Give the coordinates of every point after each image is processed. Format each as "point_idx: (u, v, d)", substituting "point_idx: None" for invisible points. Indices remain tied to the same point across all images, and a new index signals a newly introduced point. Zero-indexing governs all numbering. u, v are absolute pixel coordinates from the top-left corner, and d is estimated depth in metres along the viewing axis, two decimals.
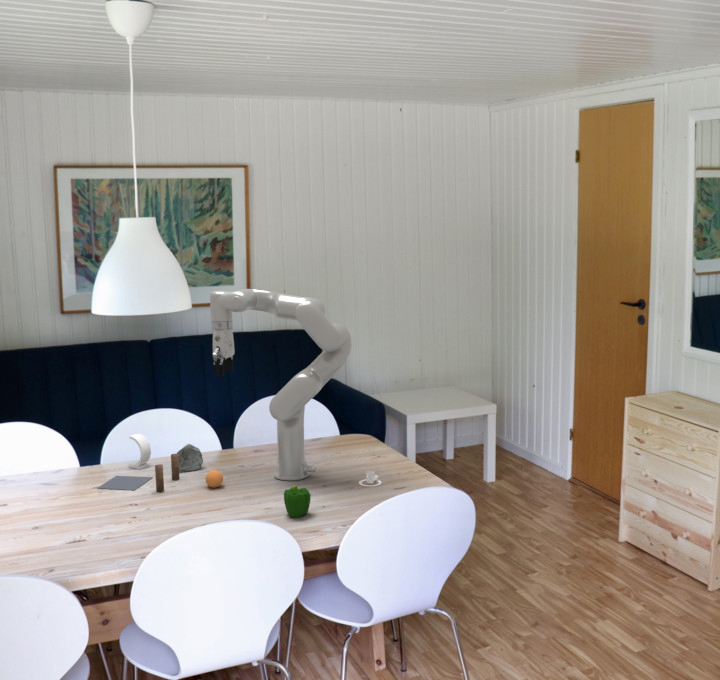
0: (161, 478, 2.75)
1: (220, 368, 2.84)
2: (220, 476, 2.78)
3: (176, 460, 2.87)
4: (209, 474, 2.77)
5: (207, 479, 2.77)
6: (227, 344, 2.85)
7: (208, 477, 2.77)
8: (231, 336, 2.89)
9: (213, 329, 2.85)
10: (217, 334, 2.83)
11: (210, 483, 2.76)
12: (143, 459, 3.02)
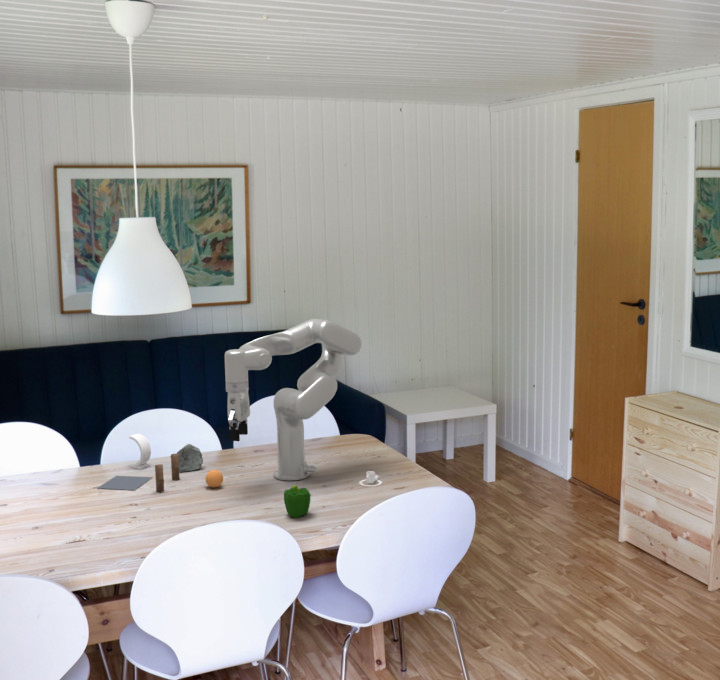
0: (161, 478, 2.75)
1: (236, 433, 2.70)
2: (220, 476, 2.78)
3: (176, 460, 2.87)
4: (209, 474, 2.77)
5: (207, 479, 2.77)
6: (242, 406, 2.70)
7: (208, 477, 2.77)
8: (247, 397, 2.74)
9: (228, 390, 2.70)
10: (232, 396, 2.69)
11: (210, 483, 2.76)
12: (143, 459, 3.02)
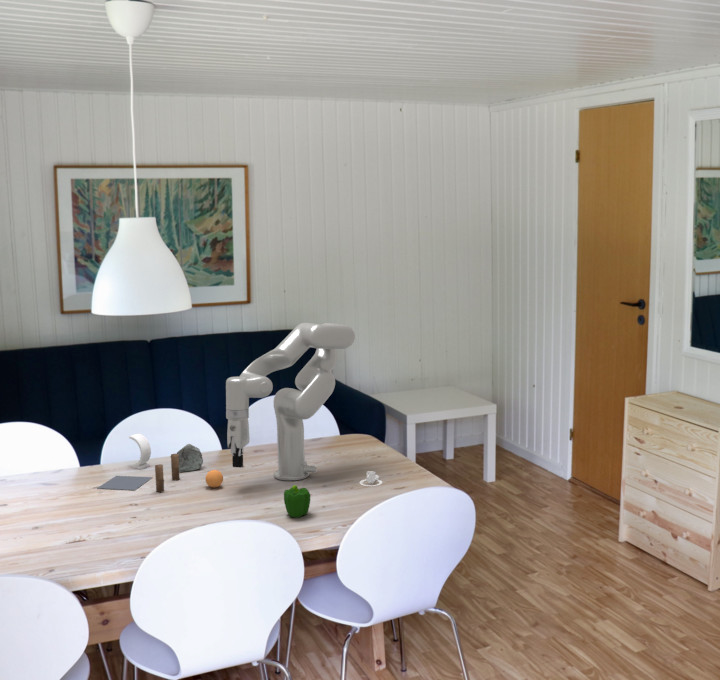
0: (161, 478, 2.75)
1: (239, 459, 2.74)
2: (220, 476, 2.78)
3: (176, 460, 2.87)
4: (209, 474, 2.77)
5: (207, 479, 2.77)
6: (242, 434, 2.71)
7: (208, 477, 2.77)
8: (247, 424, 2.75)
9: (228, 418, 2.71)
10: (232, 423, 2.70)
11: (210, 483, 2.76)
12: (143, 459, 3.02)
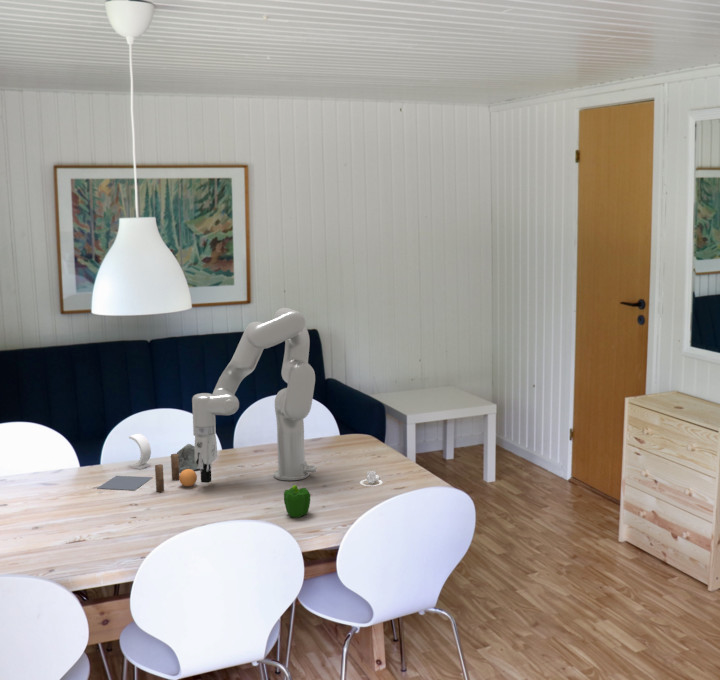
0: (161, 478, 2.75)
1: (207, 475, 2.78)
2: (179, 479, 2.80)
3: (176, 460, 2.87)
4: (187, 485, 2.79)
5: (189, 482, 2.78)
6: (209, 450, 2.75)
7: (188, 484, 2.78)
8: (214, 440, 2.79)
9: (195, 434, 2.74)
10: (199, 440, 2.73)
11: (186, 478, 2.78)
12: (143, 459, 3.02)
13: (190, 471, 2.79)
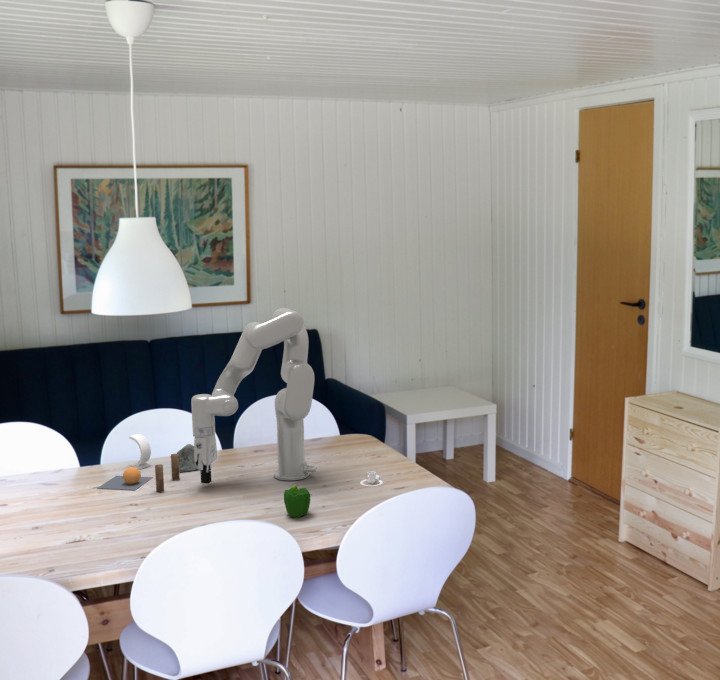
0: (161, 478, 2.75)
1: (207, 476, 2.78)
2: None
3: (176, 460, 2.87)
4: (134, 481, 2.82)
5: (133, 477, 2.81)
6: (209, 451, 2.75)
7: (132, 479, 2.82)
8: (213, 441, 2.79)
9: (194, 435, 2.75)
10: (198, 441, 2.73)
11: (128, 475, 2.81)
12: (143, 459, 3.02)
13: (129, 468, 2.83)
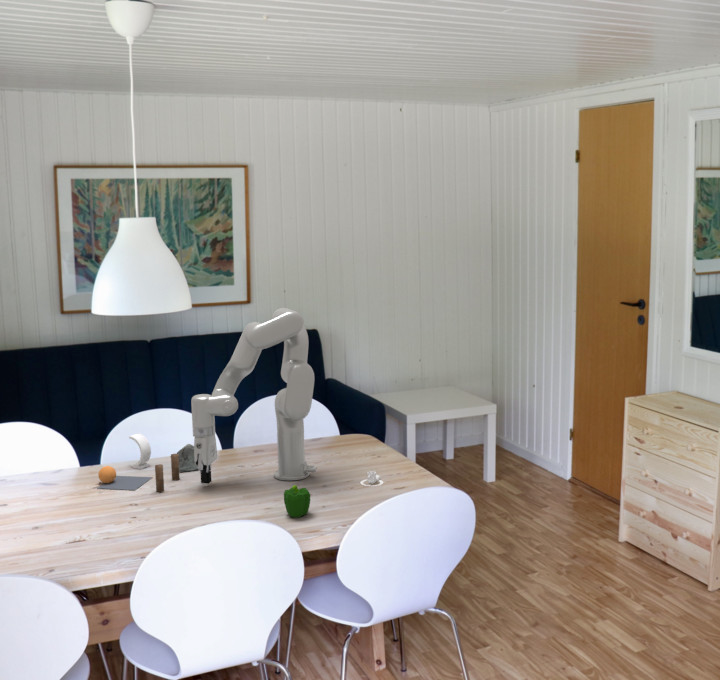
0: (161, 478, 2.75)
1: (207, 476, 2.78)
2: (111, 470, 2.84)
3: (176, 460, 2.87)
4: (100, 471, 2.84)
5: (99, 476, 2.83)
6: (209, 451, 2.75)
7: (100, 474, 2.83)
8: (213, 441, 2.79)
9: (194, 435, 2.75)
10: (198, 441, 2.73)
11: (103, 479, 2.83)
12: (143, 459, 3.02)
13: None
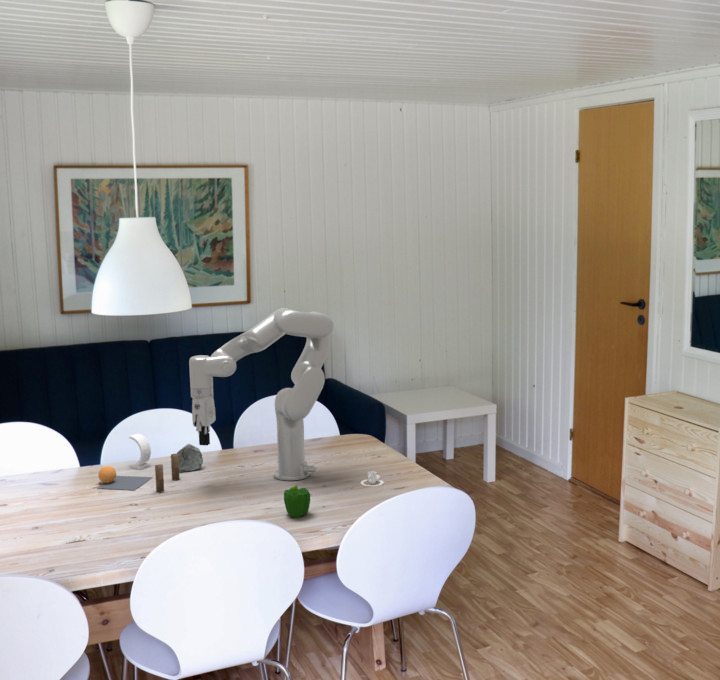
0: (161, 478, 2.75)
1: (205, 437, 2.76)
2: (111, 470, 2.84)
3: (176, 460, 2.87)
4: (100, 471, 2.84)
5: (99, 476, 2.83)
6: (207, 412, 2.73)
7: (100, 474, 2.83)
8: (212, 402, 2.77)
9: (192, 396, 2.73)
10: (197, 402, 2.71)
11: (103, 479, 2.83)
12: (143, 459, 3.02)
13: None
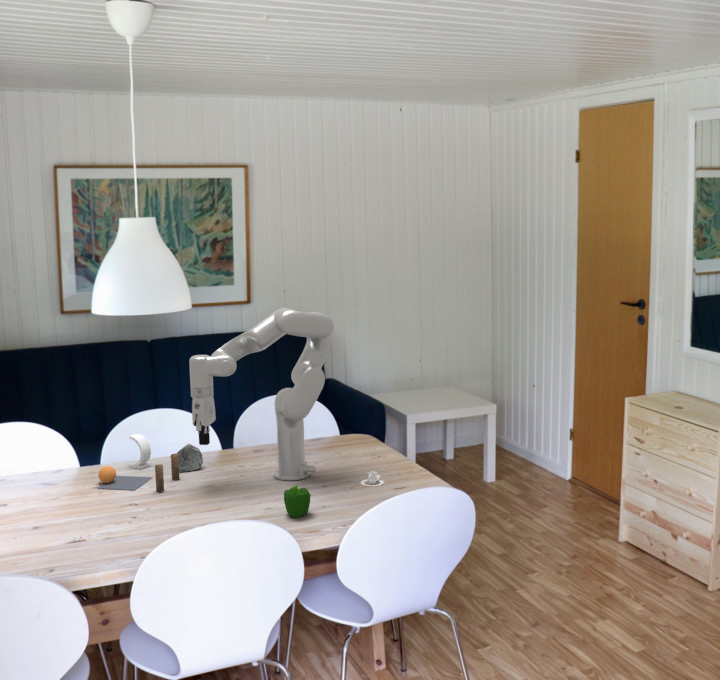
0: (161, 478, 2.75)
1: (205, 437, 2.76)
2: (111, 470, 2.84)
3: (176, 460, 2.87)
4: (100, 471, 2.84)
5: (99, 476, 2.83)
6: (207, 411, 2.73)
7: (100, 474, 2.83)
8: (212, 402, 2.77)
9: (193, 396, 2.73)
10: (197, 401, 2.71)
11: (103, 479, 2.83)
12: (143, 459, 3.02)
13: None
